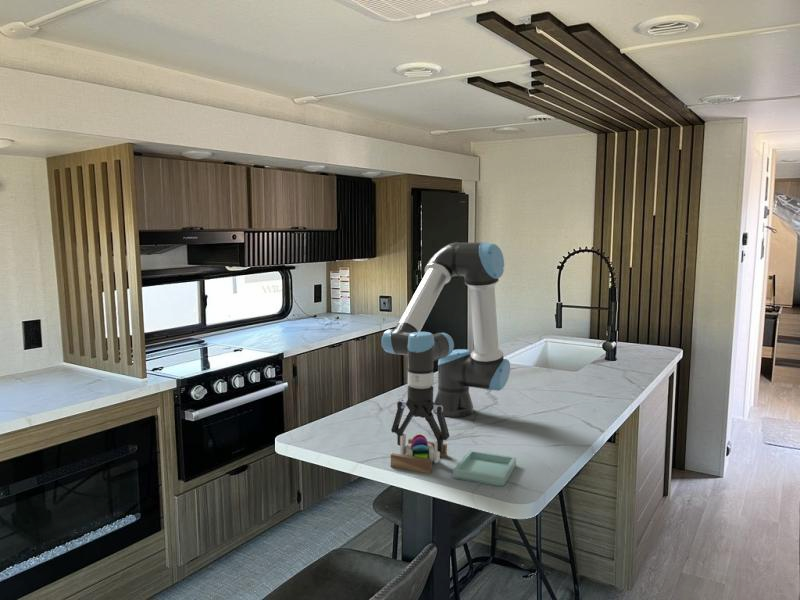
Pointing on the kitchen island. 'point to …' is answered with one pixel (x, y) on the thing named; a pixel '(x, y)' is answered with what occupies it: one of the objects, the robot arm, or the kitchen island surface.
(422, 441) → the rainbow disc toy
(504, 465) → the tray
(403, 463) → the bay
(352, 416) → the kitchen island surface
